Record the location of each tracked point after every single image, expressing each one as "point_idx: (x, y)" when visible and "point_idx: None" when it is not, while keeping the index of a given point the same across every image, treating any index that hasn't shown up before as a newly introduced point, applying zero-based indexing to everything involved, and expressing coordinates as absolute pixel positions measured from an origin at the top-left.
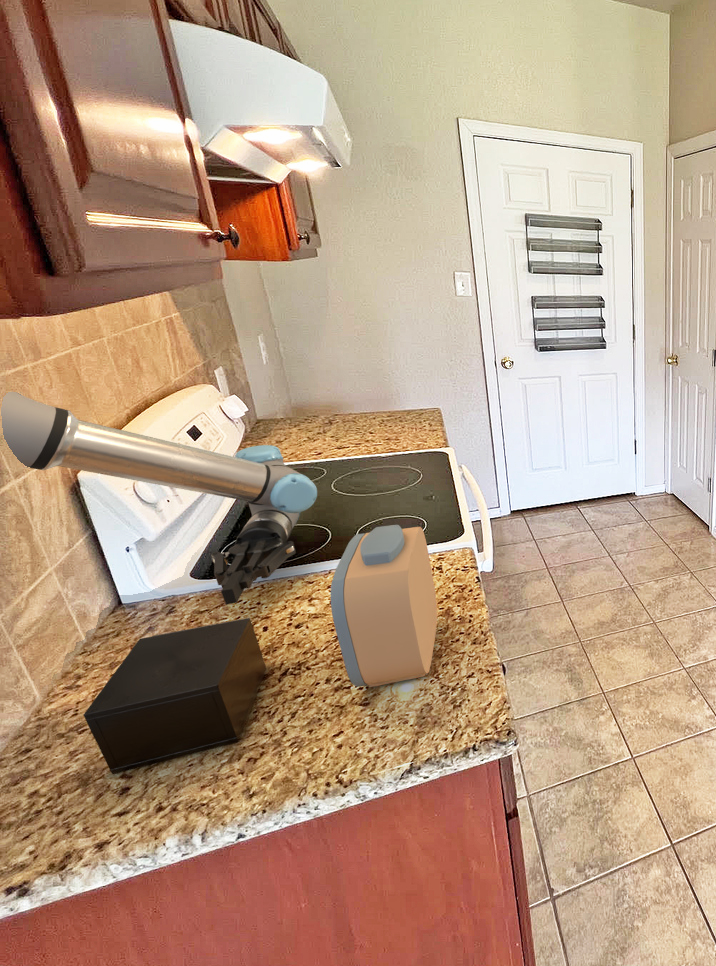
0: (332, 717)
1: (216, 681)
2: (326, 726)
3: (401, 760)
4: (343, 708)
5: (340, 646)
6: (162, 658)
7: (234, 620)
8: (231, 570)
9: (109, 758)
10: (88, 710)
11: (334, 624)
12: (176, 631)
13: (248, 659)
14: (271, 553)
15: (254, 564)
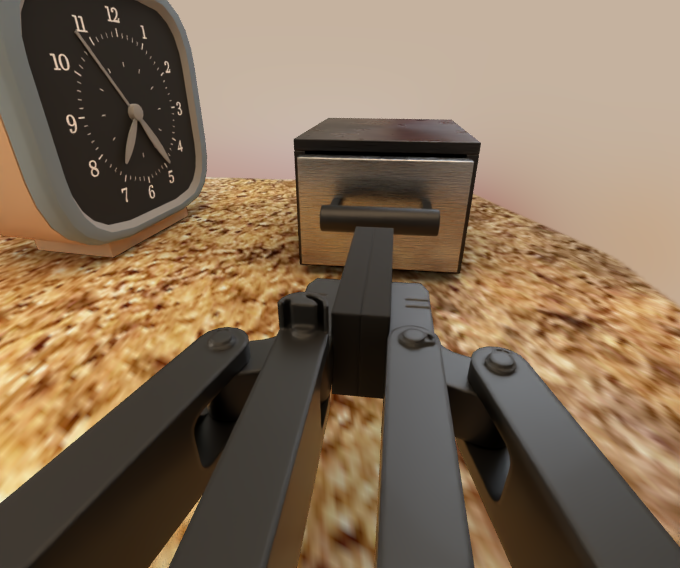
0: (240, 205)
1: (329, 118)
2: (248, 201)
3: (209, 179)
4: (226, 208)
5: (199, 102)
6: (409, 129)
7: (325, 157)
8: (405, 333)
9: None
10: (450, 120)
11: (193, 64)
12: (429, 159)
13: None
14: (53, 532)
15: (264, 367)
